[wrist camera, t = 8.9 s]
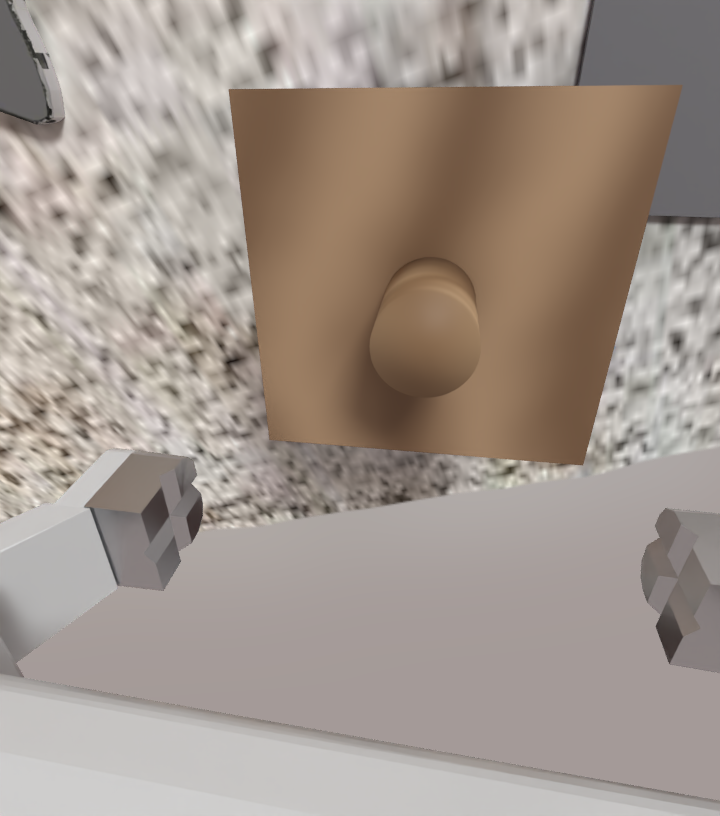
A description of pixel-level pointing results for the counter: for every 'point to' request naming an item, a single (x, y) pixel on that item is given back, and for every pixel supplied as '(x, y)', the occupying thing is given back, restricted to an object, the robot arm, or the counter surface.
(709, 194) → the mat
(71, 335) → the counter surface
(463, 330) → the lid
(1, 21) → the handgun
